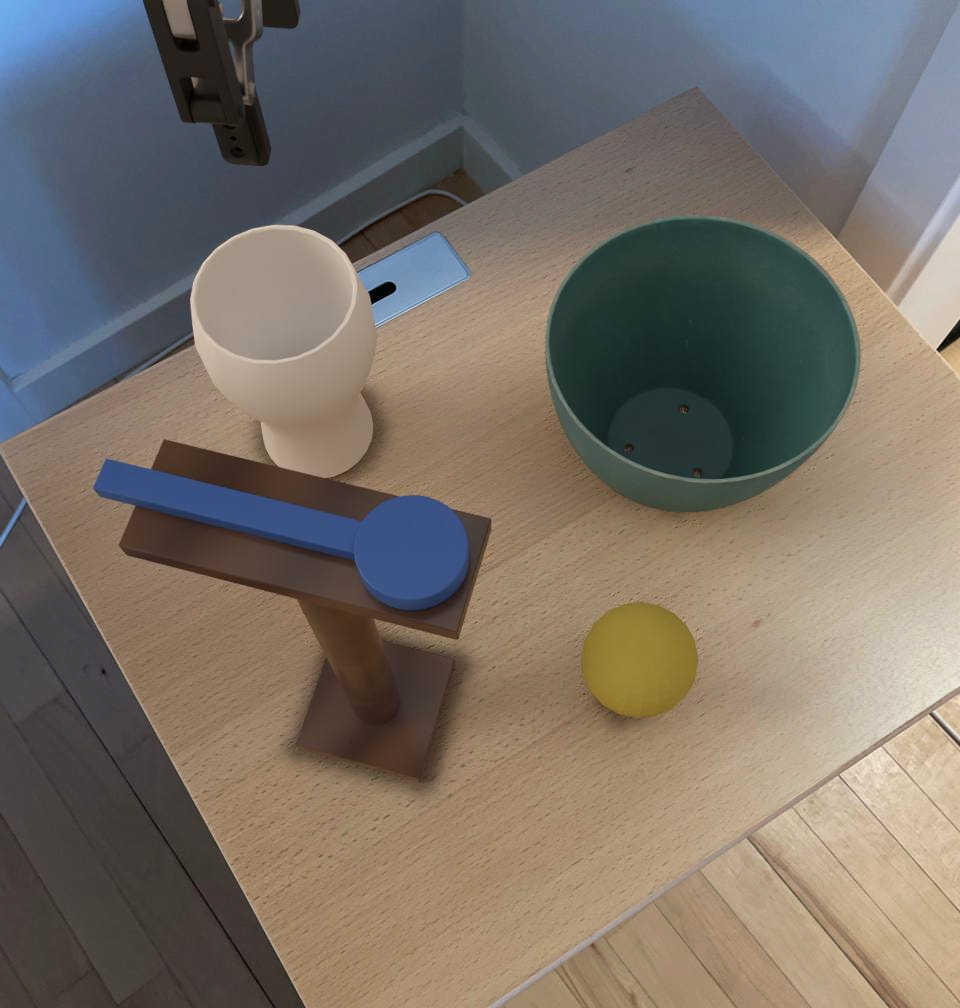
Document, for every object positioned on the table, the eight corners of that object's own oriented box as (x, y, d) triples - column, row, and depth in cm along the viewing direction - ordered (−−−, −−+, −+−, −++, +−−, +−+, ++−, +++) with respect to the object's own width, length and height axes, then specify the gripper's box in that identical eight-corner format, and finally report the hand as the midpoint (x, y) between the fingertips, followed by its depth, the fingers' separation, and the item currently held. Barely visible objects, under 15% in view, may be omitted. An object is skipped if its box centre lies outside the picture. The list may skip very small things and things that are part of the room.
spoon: (85, 530, 41) (73, 516, 39) (126, 436, 42) (116, 420, 41) (452, 623, 39) (450, 612, 38) (482, 522, 40) (482, 509, 39)
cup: (423, 447, 71) (404, 311, 57) (292, 526, 69) (239, 406, 55) (343, 341, 74) (306, 187, 60) (215, 414, 72) (146, 273, 58)
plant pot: (822, 558, 68) (889, 469, 56) (549, 577, 68) (560, 491, 56) (778, 328, 74) (830, 205, 62) (527, 345, 74) (532, 224, 62)
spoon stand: (253, 736, 64) (103, 579, 40) (294, 622, 67) (176, 407, 42) (466, 794, 63) (446, 668, 38) (500, 675, 65) (501, 485, 41)
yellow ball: (699, 707, 65) (733, 658, 55) (612, 763, 63) (633, 723, 54) (637, 623, 66) (660, 562, 57) (552, 677, 65) (561, 624, 56)
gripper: (97, -455, 36) (215, -24, 51) (-6, -182, 31) (157, 203, 47) (306, -446, 36) (362, -14, 51) (233, -168, 31) (318, 215, 46)
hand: (264, 89), depth 49 cm, fingers open, 8 cm apart
